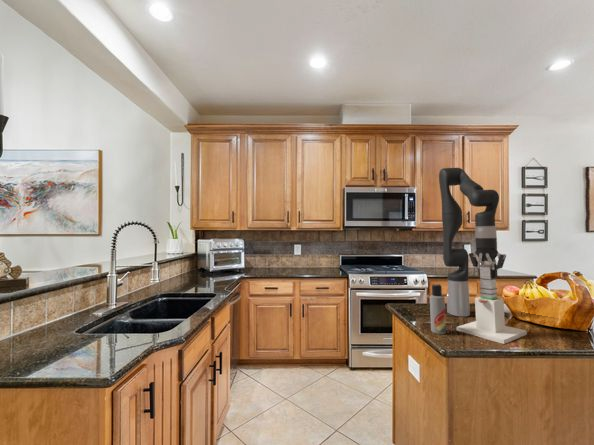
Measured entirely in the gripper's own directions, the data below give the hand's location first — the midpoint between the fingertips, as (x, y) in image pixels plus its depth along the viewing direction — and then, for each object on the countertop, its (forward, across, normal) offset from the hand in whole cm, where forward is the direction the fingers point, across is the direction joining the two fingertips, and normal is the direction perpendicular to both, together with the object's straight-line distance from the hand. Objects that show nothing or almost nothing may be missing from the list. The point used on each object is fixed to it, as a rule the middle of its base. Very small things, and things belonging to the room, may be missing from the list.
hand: (487, 277), depth 119 cm
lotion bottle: (+23, +12, +17) cm, 31 cm away
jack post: (+14, 0, 0) cm, 14 cm away
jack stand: (+23, 0, 0) cm, 23 cm away
